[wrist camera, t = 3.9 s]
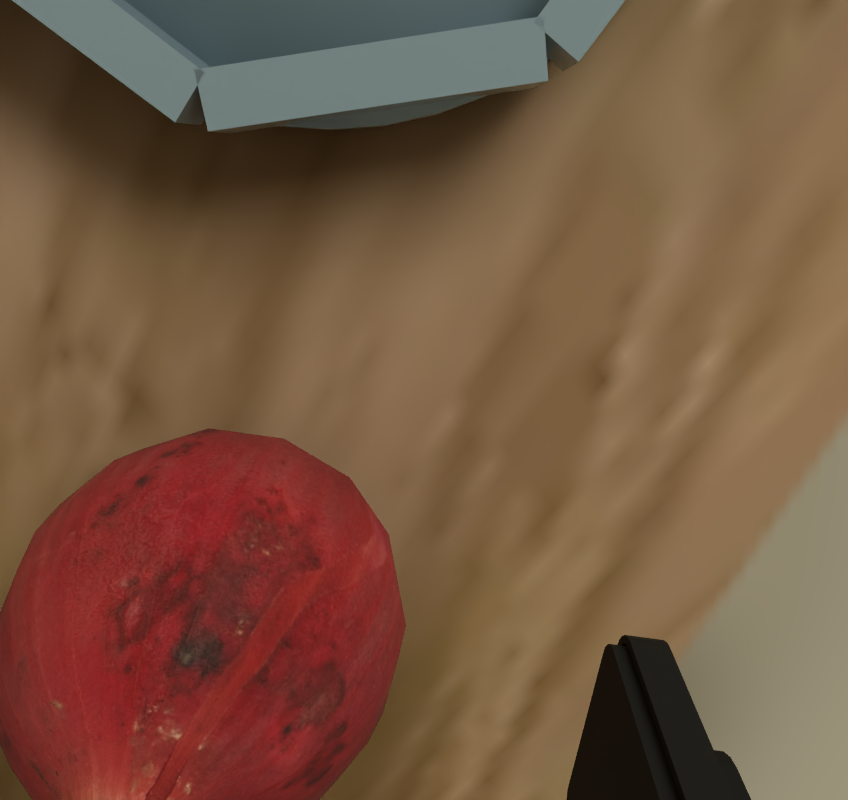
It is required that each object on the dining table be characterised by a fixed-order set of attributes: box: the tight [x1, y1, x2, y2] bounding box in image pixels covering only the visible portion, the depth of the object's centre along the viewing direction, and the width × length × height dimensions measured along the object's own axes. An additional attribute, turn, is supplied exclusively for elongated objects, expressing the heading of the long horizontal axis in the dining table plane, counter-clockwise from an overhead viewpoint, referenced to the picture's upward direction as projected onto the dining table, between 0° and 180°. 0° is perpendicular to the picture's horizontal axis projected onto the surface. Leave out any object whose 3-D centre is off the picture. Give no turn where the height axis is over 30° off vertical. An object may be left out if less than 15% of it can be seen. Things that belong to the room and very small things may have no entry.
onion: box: [0, 428, 406, 800], centre depth 11 cm, size 6×6×8 cm
